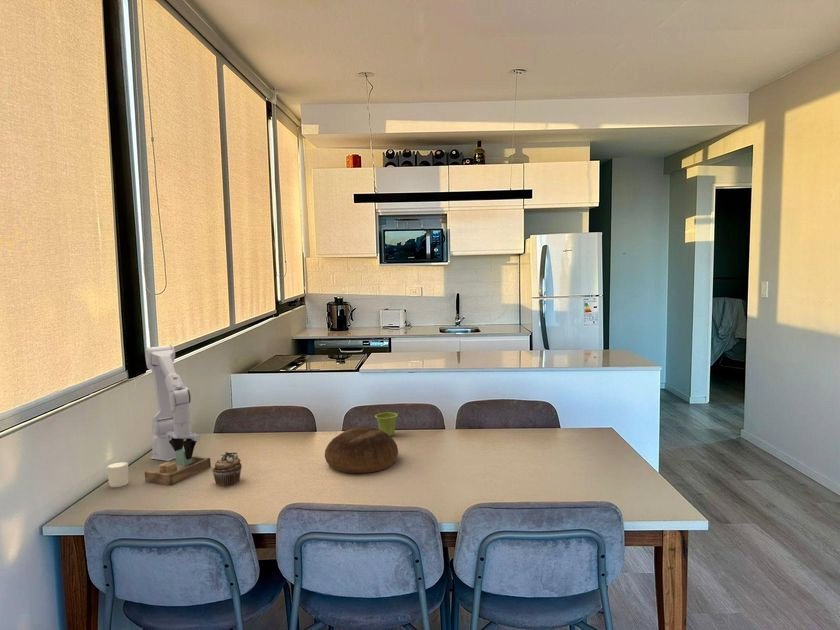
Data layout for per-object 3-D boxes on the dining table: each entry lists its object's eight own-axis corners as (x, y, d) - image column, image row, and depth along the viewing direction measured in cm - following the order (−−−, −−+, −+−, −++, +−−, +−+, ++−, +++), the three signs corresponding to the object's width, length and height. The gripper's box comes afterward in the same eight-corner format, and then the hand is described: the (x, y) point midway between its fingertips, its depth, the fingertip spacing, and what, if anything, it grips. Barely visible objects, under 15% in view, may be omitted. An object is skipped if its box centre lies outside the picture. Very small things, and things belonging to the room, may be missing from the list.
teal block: (176, 464, 219) (174, 451, 218) (184, 461, 222) (183, 448, 222) (184, 465, 217) (183, 452, 217) (192, 462, 221) (191, 448, 220)
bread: (412, 460, 221) (411, 426, 220) (357, 481, 202) (355, 443, 201) (366, 447, 239) (365, 415, 238) (311, 465, 220) (309, 430, 219)
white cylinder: (134, 481, 210) (132, 462, 209) (118, 488, 203) (116, 468, 203) (119, 479, 212) (117, 460, 211) (103, 487, 206) (101, 467, 205)
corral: (145, 481, 209) (144, 471, 209) (186, 463, 227) (185, 454, 226) (170, 485, 205) (169, 475, 204) (210, 467, 222) (210, 458, 221)
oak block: (160, 478, 212) (159, 465, 211) (169, 475, 215) (168, 461, 215) (168, 480, 210) (167, 466, 209) (177, 476, 214) (176, 462, 213)
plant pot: (397, 438, 250) (396, 417, 249) (375, 438, 250) (374, 418, 249) (398, 431, 259) (398, 412, 258) (377, 432, 259) (376, 412, 259)
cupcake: (219, 477, 211) (217, 449, 210) (246, 476, 210) (244, 449, 210) (208, 487, 201) (206, 458, 200) (237, 487, 201) (235, 458, 200)
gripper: (158, 423, 218) (161, 459, 219) (188, 426, 212) (191, 463, 213) (173, 418, 224) (176, 453, 226) (203, 421, 219) (205, 457, 220)
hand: (184, 458), depth 220 cm, fingers closed on teal block, 4 cm apart
